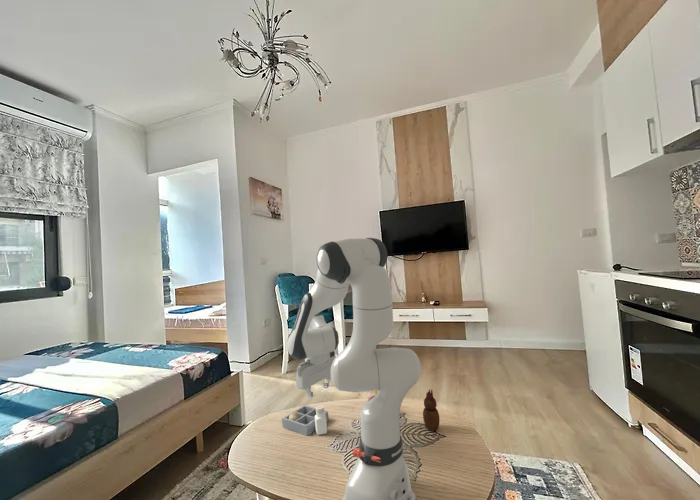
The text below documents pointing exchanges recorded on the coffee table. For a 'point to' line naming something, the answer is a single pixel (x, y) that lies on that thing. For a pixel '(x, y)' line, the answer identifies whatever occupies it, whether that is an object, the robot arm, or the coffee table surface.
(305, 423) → the grey compartment tray
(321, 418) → the pepper shaker
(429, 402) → the wooden figurine
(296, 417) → the brown ball
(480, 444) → the coffee table surface
